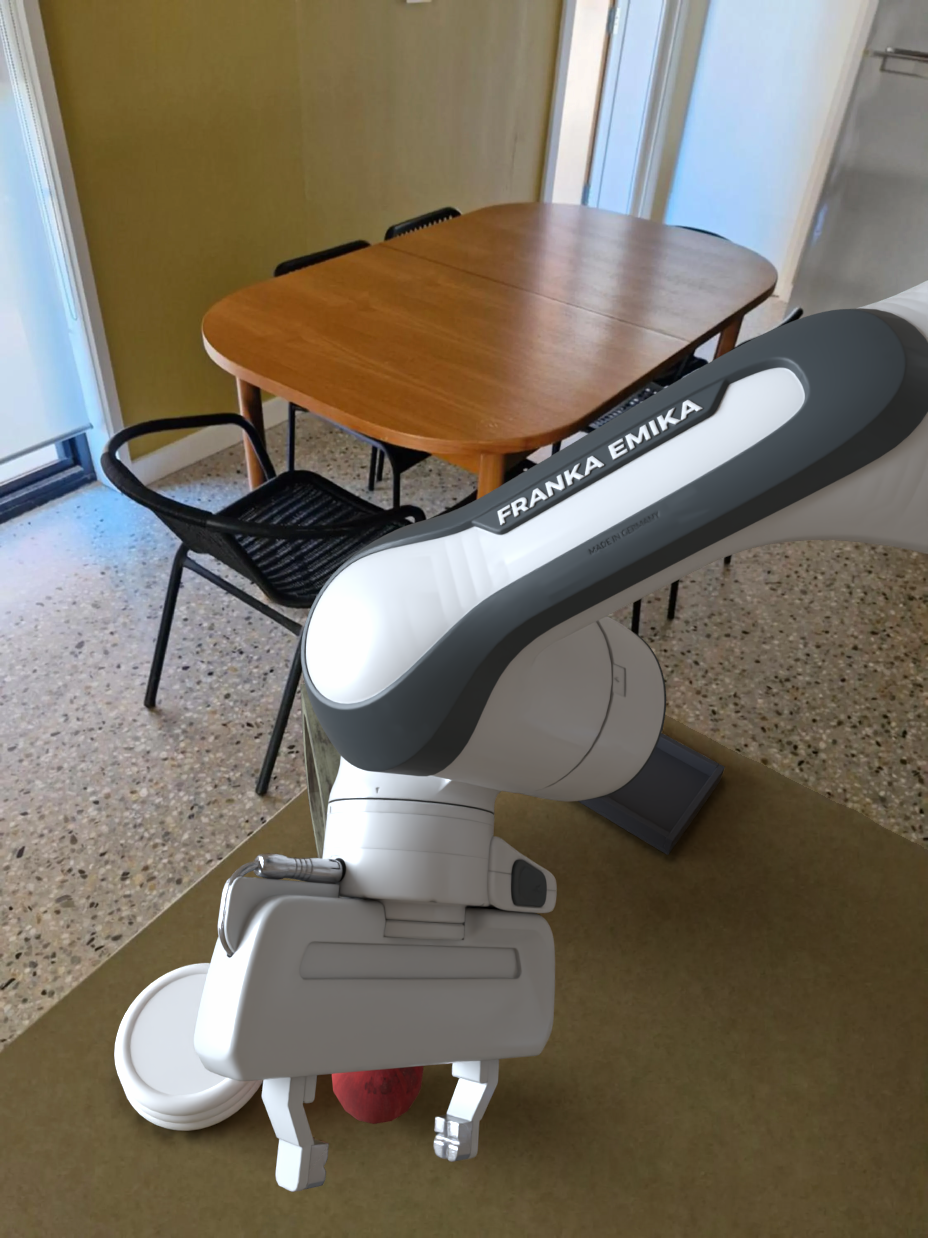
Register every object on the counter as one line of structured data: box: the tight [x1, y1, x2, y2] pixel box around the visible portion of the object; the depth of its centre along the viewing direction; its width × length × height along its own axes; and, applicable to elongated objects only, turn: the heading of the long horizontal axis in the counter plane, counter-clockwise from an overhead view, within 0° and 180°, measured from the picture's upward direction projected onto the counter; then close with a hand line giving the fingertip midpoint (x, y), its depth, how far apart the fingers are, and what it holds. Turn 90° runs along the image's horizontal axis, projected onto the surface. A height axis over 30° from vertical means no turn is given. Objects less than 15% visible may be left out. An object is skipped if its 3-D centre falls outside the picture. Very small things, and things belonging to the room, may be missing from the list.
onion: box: [331, 1066, 424, 1125], centre depth 57 cm, size 6×6×8 cm
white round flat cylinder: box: [113, 962, 263, 1132], centre depth 59 cm, size 10×10×4 cm
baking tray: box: [577, 732, 726, 856], centre depth 83 cm, size 17×11×2 cm, turn 53°
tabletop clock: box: [299, 683, 342, 898], centre depth 65 cm, size 14×9×25 cm, turn 15°
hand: (382, 1171), depth 42 cm, fingers open, 8 cm apart
